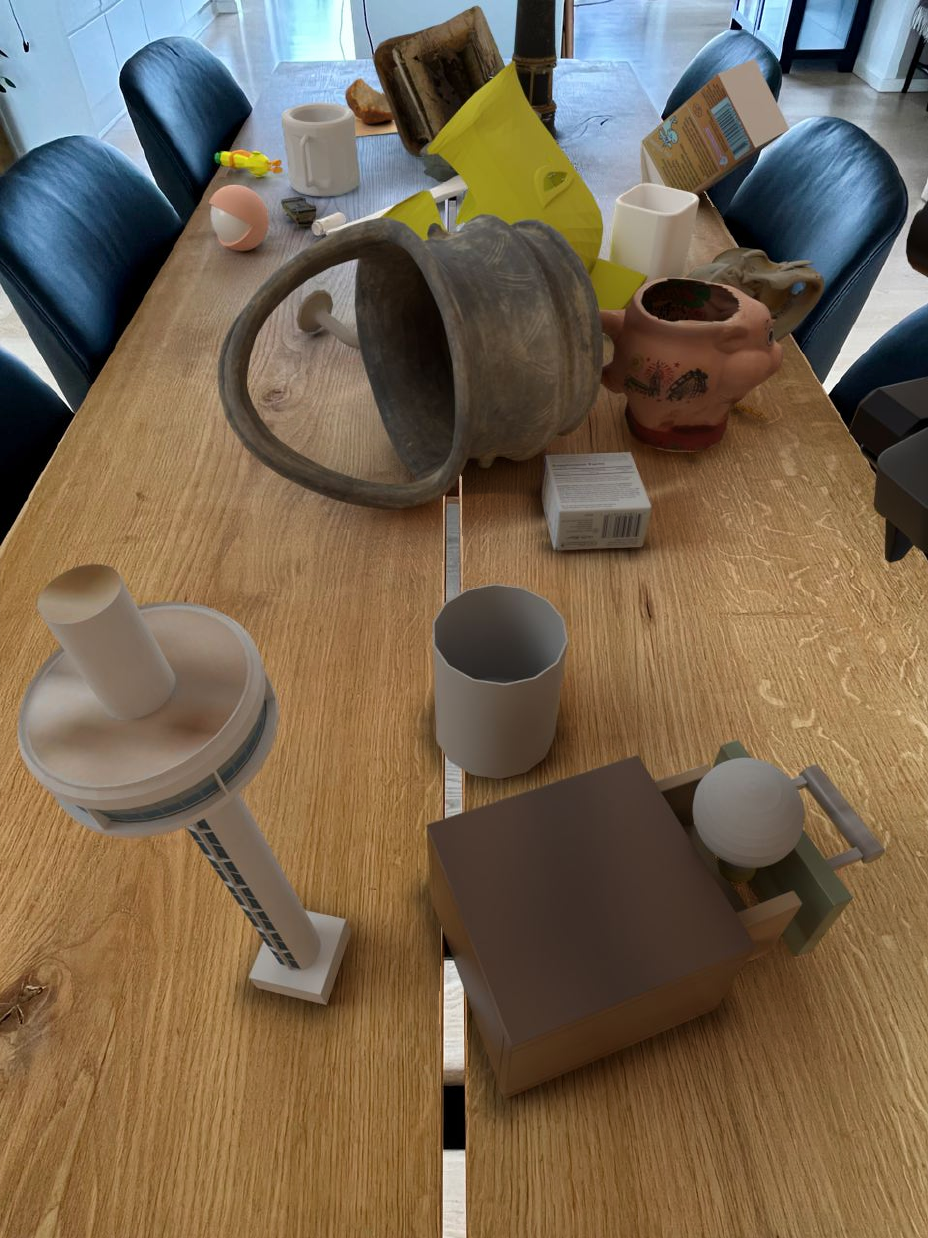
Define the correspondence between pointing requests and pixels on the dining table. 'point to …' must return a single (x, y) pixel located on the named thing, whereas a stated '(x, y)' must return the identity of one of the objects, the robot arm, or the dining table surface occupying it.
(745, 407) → the keychain
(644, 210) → the cup
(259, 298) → the ancient clay pot
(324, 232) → the small white plastic part
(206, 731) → the model tower
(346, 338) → the toilet paper hanger
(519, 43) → the black tall cylinder
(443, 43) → the brown square vessel
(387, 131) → the bread chunk
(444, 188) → the spatula
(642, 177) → the milk carton
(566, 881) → the cabinet
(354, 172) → the mug
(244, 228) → the toy ball
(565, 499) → the box
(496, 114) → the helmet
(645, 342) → the decorative planter
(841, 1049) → the dining table surface
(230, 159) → the toy figure
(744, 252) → the skull
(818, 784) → the drawer
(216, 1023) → the dining table surface
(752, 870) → the light bulb
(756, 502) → the dining table surface
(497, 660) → the cup
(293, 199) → the dark green crate
